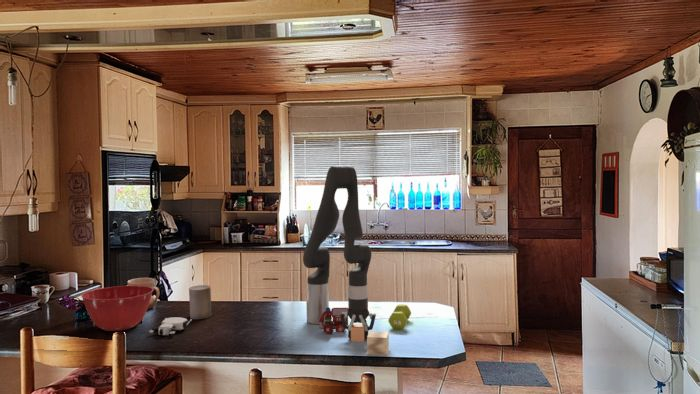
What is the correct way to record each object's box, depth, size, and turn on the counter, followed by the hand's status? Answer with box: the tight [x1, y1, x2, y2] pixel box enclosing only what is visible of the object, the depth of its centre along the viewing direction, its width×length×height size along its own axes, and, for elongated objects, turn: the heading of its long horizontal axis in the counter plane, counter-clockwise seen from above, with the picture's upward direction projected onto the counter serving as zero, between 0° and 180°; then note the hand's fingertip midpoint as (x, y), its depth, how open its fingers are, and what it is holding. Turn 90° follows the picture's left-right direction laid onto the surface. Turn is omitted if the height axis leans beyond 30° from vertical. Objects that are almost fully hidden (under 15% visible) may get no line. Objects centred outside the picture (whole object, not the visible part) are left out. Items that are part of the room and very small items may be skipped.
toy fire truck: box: [318, 307, 349, 335], centre depth 221 cm, size 7×12×10 cm, turn 86°
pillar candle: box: [188, 284, 213, 320], centre depth 246 cm, size 10×10×15 cm
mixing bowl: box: [81, 285, 154, 332], centre depth 232 cm, size 28×28×15 cm
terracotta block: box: [350, 323, 365, 343], centre depth 207 cm, size 5×5×6 cm
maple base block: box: [366, 330, 390, 356], centre depth 193 cm, size 7×7×6 cm
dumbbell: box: [388, 303, 412, 331], centre depth 230 cm, size 16×8×7 cm, turn 166°
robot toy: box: [148, 316, 193, 336], centre depth 223 cm, size 12×4×15 cm
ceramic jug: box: [125, 277, 160, 310], centre depth 262 cm, size 18×14×14 cm
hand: (358, 339), depth 207 cm, fingers closed on terracotta block, 5 cm apart
